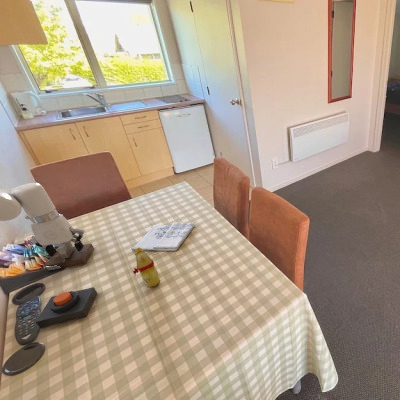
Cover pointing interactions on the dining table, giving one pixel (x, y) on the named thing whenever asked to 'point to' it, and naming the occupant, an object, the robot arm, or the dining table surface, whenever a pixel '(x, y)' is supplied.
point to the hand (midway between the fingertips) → (67, 251)
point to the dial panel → (72, 257)
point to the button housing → (67, 308)
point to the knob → (65, 249)
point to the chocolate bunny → (146, 268)
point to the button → (62, 298)
